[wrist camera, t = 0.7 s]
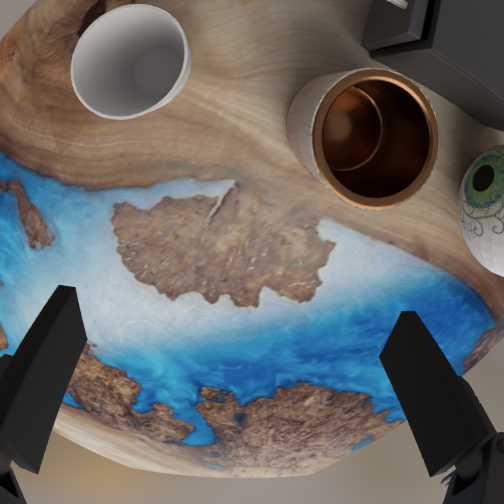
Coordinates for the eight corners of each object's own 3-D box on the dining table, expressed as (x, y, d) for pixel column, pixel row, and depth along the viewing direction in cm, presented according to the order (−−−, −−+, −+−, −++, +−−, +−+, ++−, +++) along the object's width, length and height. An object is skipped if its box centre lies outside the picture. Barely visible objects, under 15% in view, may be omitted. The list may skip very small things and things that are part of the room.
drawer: (298, 22, 22) (325, -6, 14) (327, -69, 17) (356, -109, 9) (478, 113, 26) (532, 126, 18) (494, 29, 21) (545, 28, 13)
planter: (381, 182, 31) (429, 214, 23) (282, 177, 30) (303, 210, 22) (391, 82, 26) (446, 83, 18) (286, 68, 25) (311, 54, 17)
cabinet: (370, 58, 25) (431, 48, 15) (394, -39, 19) (449, -70, 9) (486, 126, 28) (549, 146, 18) (504, 39, 22) (563, 41, 12)
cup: (201, 28, 23) (188, -5, 14) (202, 108, 27) (188, 112, 18) (118, 39, 23) (71, 19, 14) (120, 117, 26) (73, 128, 17)
